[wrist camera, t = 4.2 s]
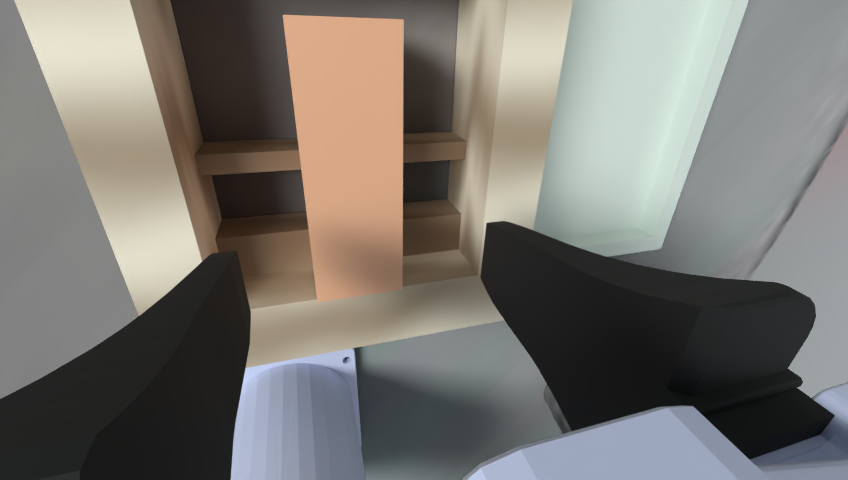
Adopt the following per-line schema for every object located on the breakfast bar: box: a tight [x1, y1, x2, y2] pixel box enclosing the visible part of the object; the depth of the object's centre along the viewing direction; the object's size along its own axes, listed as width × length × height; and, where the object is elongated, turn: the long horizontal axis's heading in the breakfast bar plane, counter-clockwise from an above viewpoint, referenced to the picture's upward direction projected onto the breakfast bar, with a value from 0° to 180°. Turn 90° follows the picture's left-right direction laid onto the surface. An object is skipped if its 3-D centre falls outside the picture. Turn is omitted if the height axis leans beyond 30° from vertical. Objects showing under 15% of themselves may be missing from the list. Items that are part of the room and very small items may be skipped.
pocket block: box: [15, 0, 573, 368], centre depth 16 cm, size 18×16×4 cm
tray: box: [533, 0, 749, 257], centre depth 21 cm, size 16×11×2 cm
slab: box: [283, 15, 404, 302], centre depth 15 cm, size 10×4×3 cm, turn 178°
